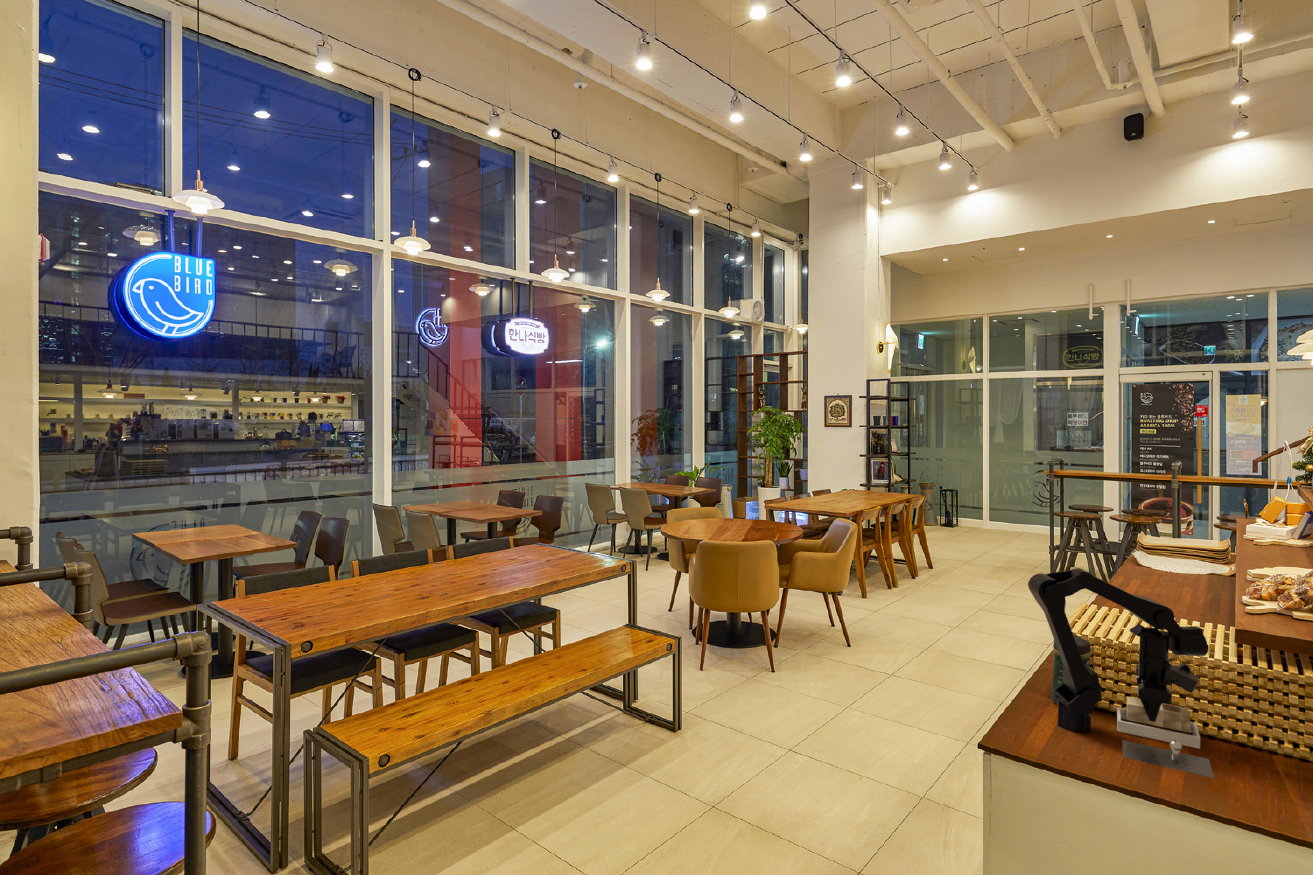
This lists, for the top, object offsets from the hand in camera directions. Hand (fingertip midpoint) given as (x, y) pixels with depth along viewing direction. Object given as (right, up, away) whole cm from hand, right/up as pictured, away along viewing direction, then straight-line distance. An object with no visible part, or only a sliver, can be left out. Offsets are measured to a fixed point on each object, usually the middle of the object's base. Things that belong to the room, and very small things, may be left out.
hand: (1151, 716), depth 165 cm
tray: (+1, -5, 0) cm, 5 cm away
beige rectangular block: (+1, -1, -1) cm, 1 cm away
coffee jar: (-9, -4, +17) cm, 20 cm away
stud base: (-6, -5, -12) cm, 14 cm away
